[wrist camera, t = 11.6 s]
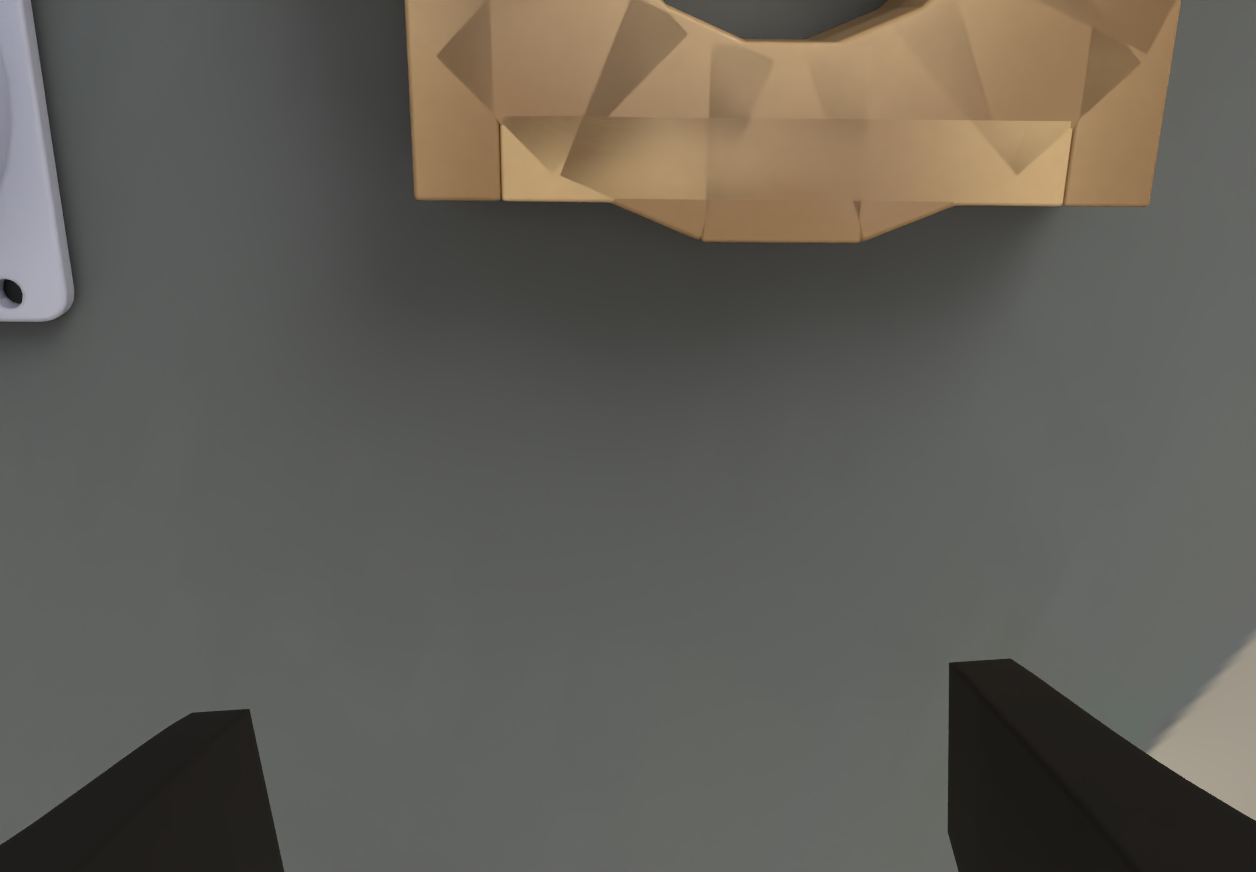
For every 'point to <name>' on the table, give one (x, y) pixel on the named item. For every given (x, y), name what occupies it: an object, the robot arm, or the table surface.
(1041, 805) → the robot arm
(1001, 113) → the holder
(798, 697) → the table surface
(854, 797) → the table surface
